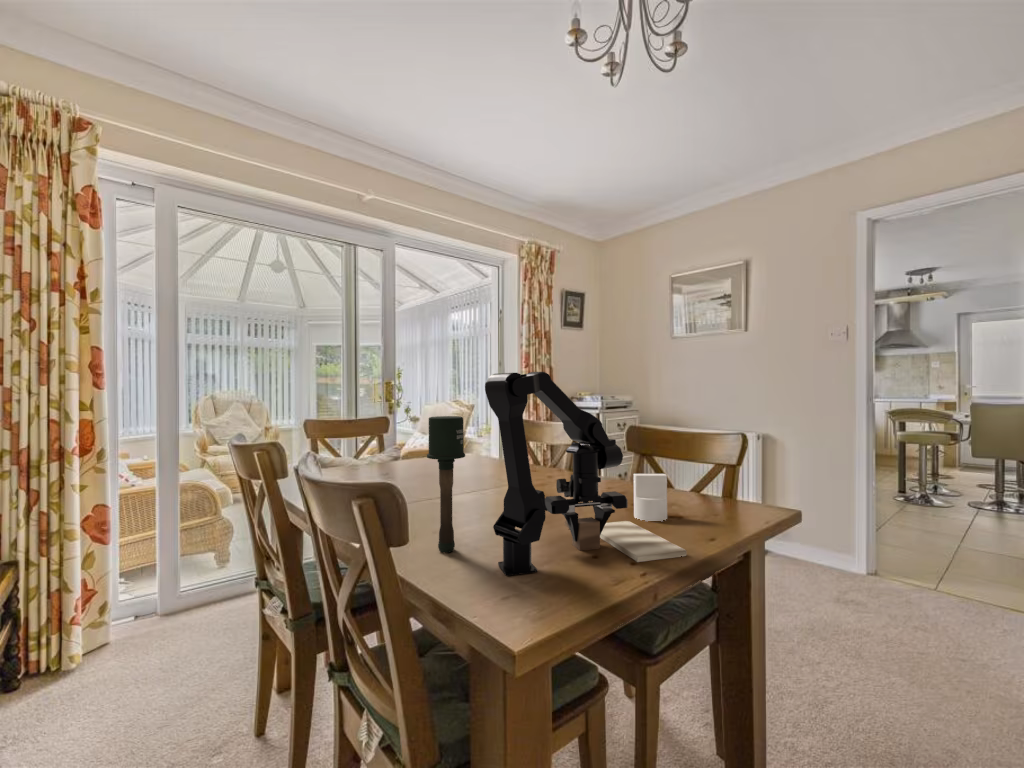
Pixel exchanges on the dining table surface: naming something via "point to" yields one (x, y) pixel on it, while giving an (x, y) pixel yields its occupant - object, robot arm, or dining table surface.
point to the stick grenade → (446, 468)
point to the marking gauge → (587, 534)
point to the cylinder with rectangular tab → (650, 497)
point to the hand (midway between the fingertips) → (586, 539)
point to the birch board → (639, 542)
